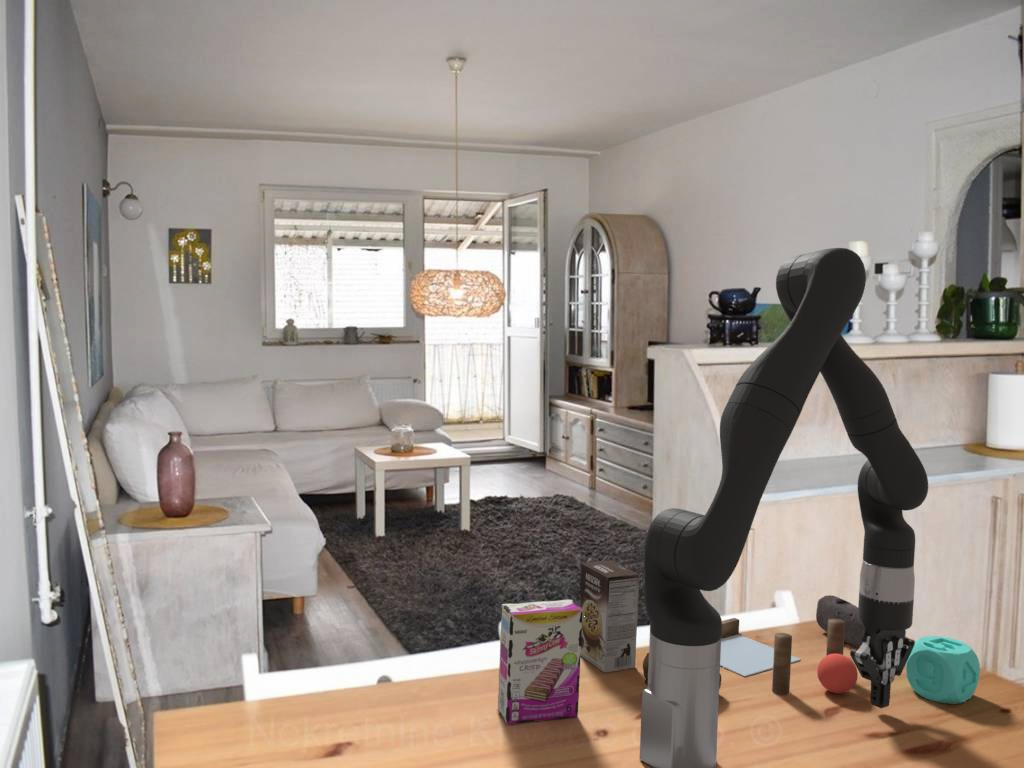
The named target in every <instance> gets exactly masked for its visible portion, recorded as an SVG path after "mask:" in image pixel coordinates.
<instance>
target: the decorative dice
mask: <svg viewBox="0 0 1024 768" xmlns="http://www.w3.org/2000/svg"><path fill="white" fill-rule="evenodd" d="M980 665H981V664H980V661H979V657H978V656H977V654H976V653H975V651H974V650H973V648H972V647H971V646H970V645H969V644H967V643H965V642H964V641H961V640H958V639H955V638H950V637H944V636H938V635H937V636H936V635H934V636H933V635H932V636H931V635H928V636H927V635H926V636H922V637H920V638H918V639H916V641H915V645H914V647H913V650H912V652H911V654H910V656H909V658H908V660H907V662H906V665H905V676H906V678H907V681H908V683H909V685H910V687H911V688H912V689H913V690H914V692H915V693H916V694H917V695H919V696H920V697H922V698H924V699H927V700H929V701H932V702H935V701H936V703H940V702H941V703H942V704H946V703H960V704H963V703H962V702H964V703H966V702H967V701H966V700H968V699H969V700H971V698H972V697H973V696H974V694H975V692H976V689H977V687H978V684H979V679H980V673H981V672H980V671H981V668H980ZM969 700H968V701H969ZM965 701H966V702H965Z"/></svg>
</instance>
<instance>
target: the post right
mask: <svg viewBox="0 0 1024 768" xmlns="http://www.w3.org/2000/svg"><path fill="white" fill-rule="evenodd" d="M844 631H845V622H844V621H843V620H839V619H829V620H828V633H826V635H827V637H826V653H825V656H827V655H829V654H842V655H844V648H845V647H844V646H845V642H844Z"/></svg>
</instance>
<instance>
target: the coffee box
mask: <svg viewBox="0 0 1024 768" xmlns="http://www.w3.org/2000/svg"><path fill="white" fill-rule="evenodd" d="M639 585H640V573H637V572H635V571H633V570H631V569H629V568H627V567H626V566H623V565H622V564H619V563H618V562H615V561H614V560H612V559H610V560H595V561H587V562H582V563H580V586H579V588H580V589H579V590H580V593H579V595H580V597H579V607H580V608H581V609H582V610H583V611H582V633H581V655H580V657H582V658H584V659H585V660H587V661H588V662H589V663H590V664H592V665H593V666H595V667H596V668H597V669H598V670H600V671H601V670H602V671H601V672H603V673H611V671H612V672H617V671H616V670H618V671H622V670H621V669H624V670H629V668H630V669H635V668H636V659H637V658H636V656H637V655H636V653H637V650H636V649H637V634H638V633H637V630H638V611H639V609H638V608H639V591H640V590H639V589H640V586H639ZM584 616H585V617H584ZM634 667H635V668H634Z"/></svg>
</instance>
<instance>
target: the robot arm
mask: <svg viewBox="0 0 1024 768" xmlns="http://www.w3.org/2000/svg"><path fill="white" fill-rule="evenodd" d="M866 281H867V275H866V268H865V264H864V262H863V260H862V258H861V257H860V255H859V254H858V253H856V252H855V251H853V250H852V249H849V248H845V247H833V248H832V247H831V248H826V249H825V248H824V249H821V250H816V251H813V252H807V253H802V254H798V255H795V256H792V257H790V258H788V259H787V260H785V261H784V262H783V263H782V264H781V265H780V267H779V269H778V271H777V274H776V278H775V289H776V294H777V297H778V299H779V303H780V305H781V306H782V308H783V311H784V312H785V314H786V316H787V317H788V319H789V321H790V322H789V323H788V326H786V327H785V329H784V330H783V332H781V334H780V335H779V336H778V337H777V338H776V339H775V340H774V341H773V342H772V343H771V344H770V345H769V346H768V347H767V348H766V349H765V350H763V352H762V353H760V355H758V356H757V357H756V359H755V360H753V361H752V362H751V364H750V365H749V366H748V367H746V369H745V371H744V372H743V373H742V375H741V376H740V378H739V379H738V381H737V383H736V385H735V386H734V388H733V391H732V393H731V395H730V397H729V399H728V401H726V402H727V403H726V405H725V407H724V408H723V411H722V414H721V417H720V422H719V441H720V442H719V443H720V453H721V454H720V455H721V460H722V468H721V470H722V471H721V477H720V481H719V485H718V487H717V490H716V493H715V495H714V497H713V499H712V501H711V503H710V506H709V508H708V510H707V511H706V512H705V514H700V513H697V512H695V511H694V512H693V511H690V510H686V509H681V508H673V507H672V508H667V509H664V510H663V511H661V512H659V513H658V514H657V515H656V516H655V517H654V519H653V520H652V521H651V524H650V525H649V527H648V530H647V533H646V537H645V542H644V551H643V552H644V553H643V554H644V555H643V563H644V564H643V577H644V581H643V582H644V606H645V611H646V613H647V614H646V615H647V616H648V619H649V643H648V645H649V649H648V653H649V668H648V686H647V688H645V689H643V690H642V691H641V709H640V710H641V711H640V712H641V713H640V732H639V733H640V735H639V736H640V738H639V739H640V740H639V759H640V760H641V761H643V763H645V764H647V765H649V766H650V767H652V768H716V766H717V755H718V754H717V752H718V751H717V748H718V723H719V722H718V720H719V705H720V704H719V703H720V702H719V701H720V700H719V699H720V698H719V697H720V689H719V679H720V674H721V672H720V671H721V666H720V656H721V639H722V637H721V635H722V621H723V619H722V616H721V615H720V613H719V612H718V610H717V609H716V608H714V606H712V605H711V604H710V602H709V601H708V600H707V599H706V598H705V597H704V595H703V593H702V591H704V592H712V591H716V590H718V589H719V588H721V587H723V586H724V585H725V584H726V583H727V582H728V581H729V580H730V578H731V576H732V574H733V573H734V572H735V570H736V568H737V566H738V564H739V561H740V558H741V556H742V553H743V551H744V549H745V545H746V542H747V540H748V537H749V534H750V530H751V528H752V526H753V522H754V519H755V516H756V514H757V512H758V511H757V510H758V509H759V505H760V503H761V501H762V497H763V494H764V492H765V491H766V488H767V486H768V483H769V481H770V479H771V477H772V475H773V471H774V469H775V467H776V465H777V463H778V461H779V458H780V456H781V454H782V452H783V451H784V448H785V446H786V444H787V443H788V441H789V439H790V437H791V435H792V433H793V430H794V428H795V426H796V424H797V422H798V420H799V418H800V415H801V413H802V411H803V408H804V406H805V403H806V401H807V399H808V396H809V395H810V393H811V391H812V389H813V386H814V385H815V382H816V381H817V379H818V377H819V375H820V374H821V376H822V378H823V380H824V381H825V383H826V385H827V387H828V390H829V391H830V394H831V395H832V399H833V400H834V403H835V405H836V408H837V410H838V413H839V417H840V419H841V422H842V424H843V426H844V429H845V432H846V434H847V436H848V439H849V441H850V443H851V444H852V446H853V448H854V449H855V450H857V451H858V452H859V453H861V454H862V455H864V457H866V459H867V460H866V461H865V462H864V463H863V465H862V466H861V468H860V471H859V474H858V477H857V495H858V503H859V509H860V510H859V511H860V515H861V520H862V524H863V529H864V530H863V531H864V536H863V553H862V563H861V569H860V574H859V590H858V606H857V607H858V619H859V620H860V621H861V622H862V624H863V625H864V632H863V635H862V643H863V644H862V645H861V646H860V648H857V649H855V648H852V649H851V650H850V653H849V655H850V657H851V660H852V662H853V663H854V665H855V666H856V669H857V672H858V673H859V674H860V676H861V678H863V679H865V680H868V681H870V696H869V697H870V700H869V701H870V704H871V705H873V706H874V707H877V708H879V709H884V708H887V707H889V705H890V701H891V687H892V686H891V685H892V683H893V682H894V681H895V677H896V676H898V677H899V676H901V675H902V673H903V671H904V669H905V668H906V662H907V660H908V658H909V656H910V654H911V652H912V650H913V647H914V645H915V642H916V641H915V640H914V639H911V638H909V637H908V636H906V635H907V631H906V630H909V629H910V628H911V627H912V625H913V621H914V620H913V619H914V618H913V616H914V603H915V602H914V601H915V583H916V581H915V579H916V578H915V552H916V534H915V530H914V528H913V527H912V526H911V525H910V524H908V522H907V521H906V519H905V518H904V513H903V511H912V510H915V509H917V508H919V507H920V506H921V505H922V504H923V503H924V501H925V500H926V498H927V497H928V492H929V479H928V474H927V472H926V469H925V467H924V464H923V463H922V461H921V459H920V458H919V456H918V454H917V453H916V451H915V449H914V447H913V446H912V444H911V443H910V442H909V439H907V437H906V436H905V435H904V433H903V431H902V430H901V429H900V426H899V424H898V420H897V418H896V415H895V412H894V408H893V406H892V404H891V402H890V398H889V396H888V394H887V392H886V390H885V387H884V385H883V384H882V382H881V380H880V379H879V378H878V376H877V375H876V374H875V373H874V371H873V370H872V369H871V368H870V367H869V366H868V364H866V362H864V360H863V359H862V358H861V357H860V356H859V355H858V354H857V353H856V352H855V351H854V350H853V348H852V347H851V346H850V344H849V343H848V342H847V341H846V339H845V338H844V337H843V335H842V332H844V329H845V328H846V326H847V325H848V323H849V322H850V320H851V318H852V316H853V315H854V313H855V312H856V310H857V308H858V306H859V304H860V302H861V300H862V298H863V295H864V292H865V287H866Z"/></svg>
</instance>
